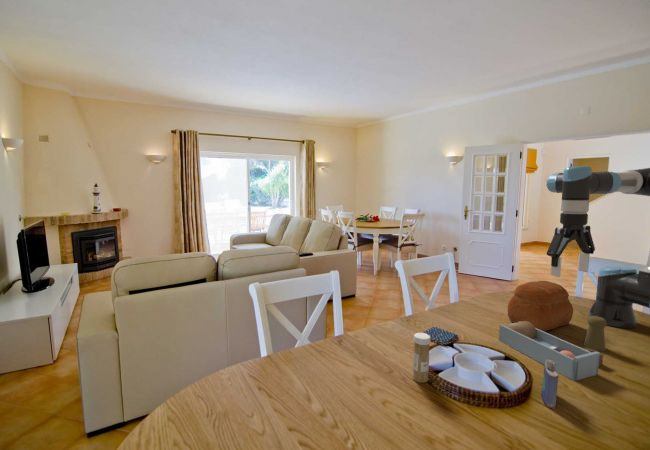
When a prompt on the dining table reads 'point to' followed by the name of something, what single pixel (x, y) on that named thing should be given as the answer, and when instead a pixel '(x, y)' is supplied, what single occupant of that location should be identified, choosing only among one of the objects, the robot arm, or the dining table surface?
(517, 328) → the long open box
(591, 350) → the hollow square tube
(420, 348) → the sprinkles bottle
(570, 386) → the dining table surface
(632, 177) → the robot arm
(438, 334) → the woven mat
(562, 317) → the bread
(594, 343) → the cork
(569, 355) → the ball
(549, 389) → the flask
